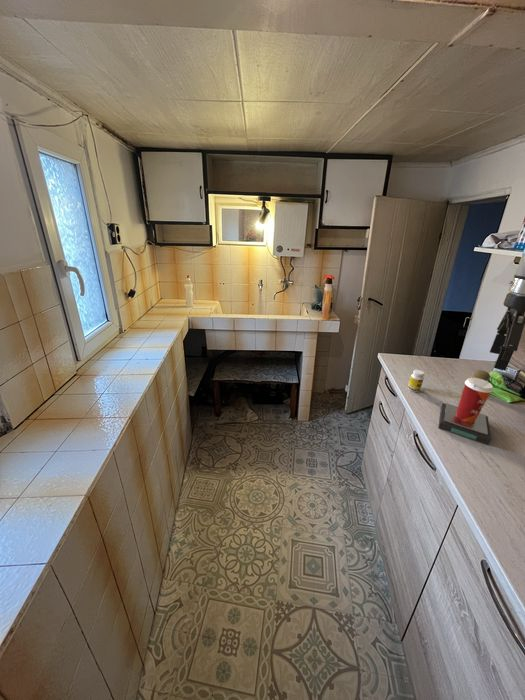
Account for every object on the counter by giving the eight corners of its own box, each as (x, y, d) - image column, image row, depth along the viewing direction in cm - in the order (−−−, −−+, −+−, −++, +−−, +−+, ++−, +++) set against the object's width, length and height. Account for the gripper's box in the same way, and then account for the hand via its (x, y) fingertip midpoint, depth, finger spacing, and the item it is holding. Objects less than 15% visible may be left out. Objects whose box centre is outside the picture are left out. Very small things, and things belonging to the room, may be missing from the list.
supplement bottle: (416, 393, 116) (421, 375, 112) (405, 388, 119) (410, 371, 116) (421, 390, 118) (427, 372, 115) (411, 385, 122) (416, 368, 118)
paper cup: (476, 427, 92) (493, 391, 86) (450, 417, 97) (463, 382, 91) (480, 417, 97) (495, 382, 91) (455, 407, 102) (468, 374, 96)
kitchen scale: (485, 422, 100) (488, 414, 99) (488, 445, 89) (492, 437, 88) (440, 408, 107) (443, 400, 106) (438, 428, 96) (441, 420, 95)
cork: (464, 395, 116) (474, 372, 111) (465, 389, 120) (474, 366, 116) (482, 401, 112) (493, 377, 108) (482, 394, 117) (492, 371, 112)
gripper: (502, 285, 92) (480, 345, 101) (514, 301, 73) (485, 373, 81) (532, 288, 88) (506, 350, 97) (553, 306, 69) (518, 380, 78)
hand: (496, 360), depth 89 cm, fingers open, 13 cm apart
